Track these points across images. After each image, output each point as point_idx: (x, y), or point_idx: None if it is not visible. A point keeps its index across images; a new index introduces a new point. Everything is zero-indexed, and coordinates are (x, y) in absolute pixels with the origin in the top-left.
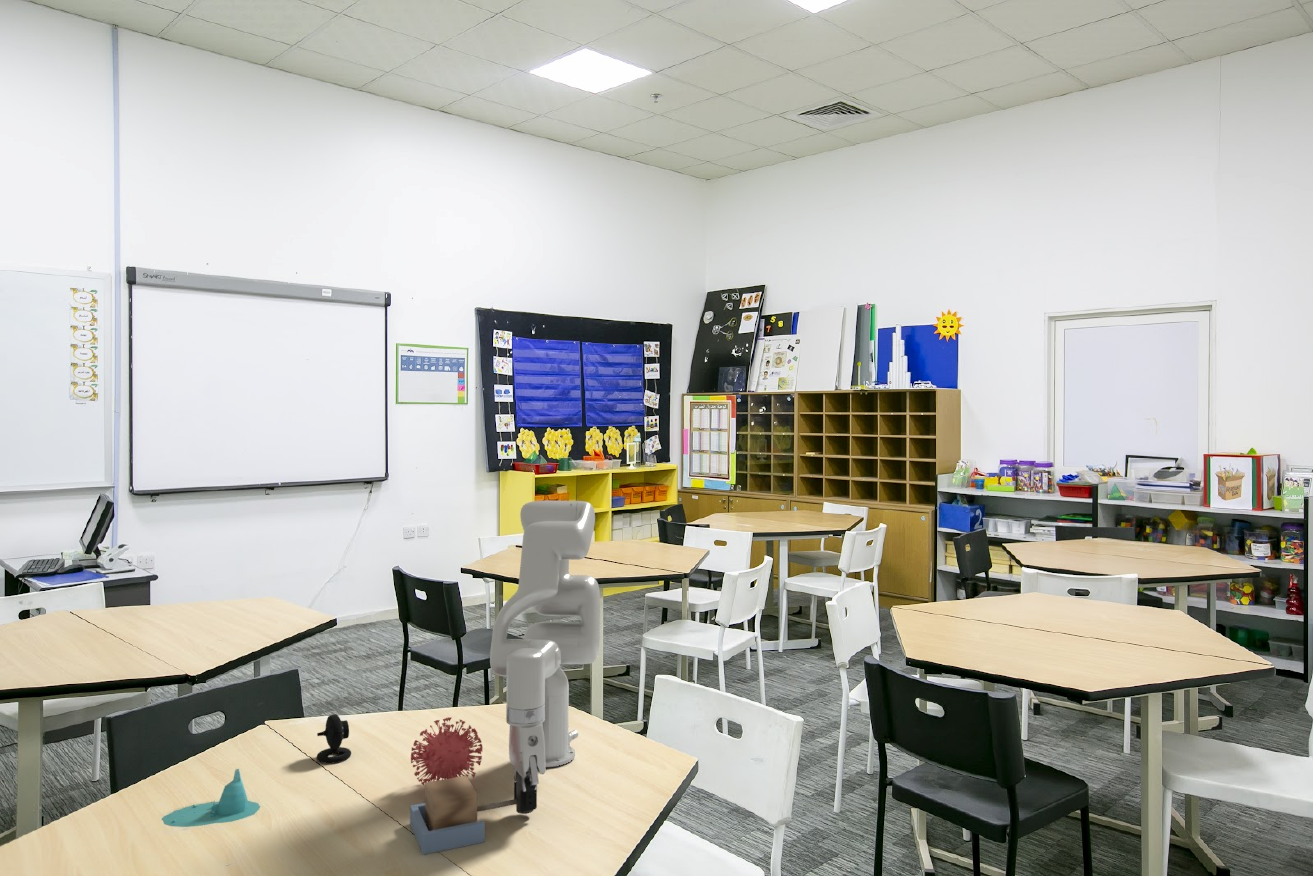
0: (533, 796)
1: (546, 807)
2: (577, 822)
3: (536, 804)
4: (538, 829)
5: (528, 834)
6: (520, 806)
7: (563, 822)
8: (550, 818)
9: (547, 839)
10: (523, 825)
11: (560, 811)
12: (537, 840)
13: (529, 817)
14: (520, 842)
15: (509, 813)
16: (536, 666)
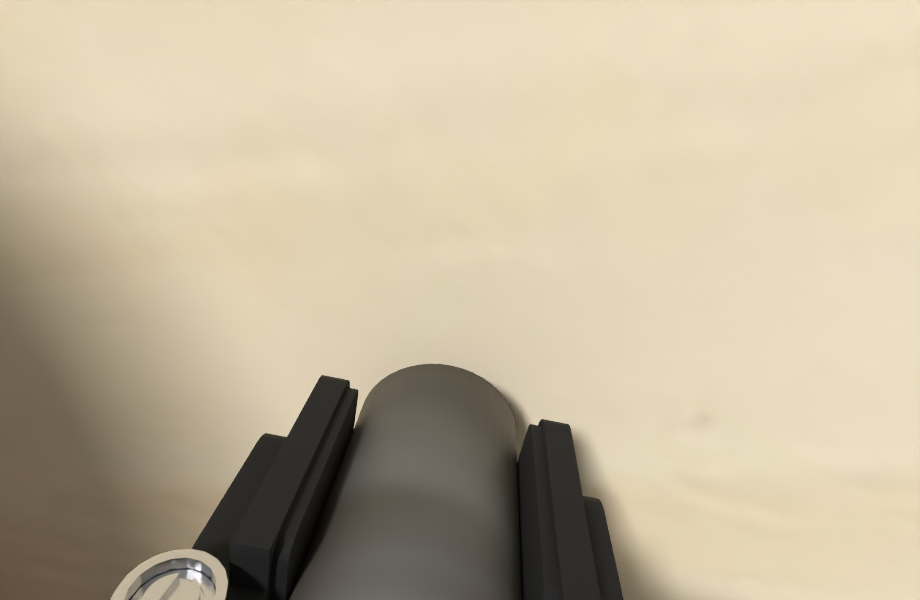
0: (618, 591)
1: (381, 163)
2: (907, 73)
3: (573, 450)
4: (711, 421)
5: (719, 503)
6: None
7: (780, 197)
8: (615, 252)
9: (905, 450)
10: None
11: (551, 89)
12: (850, 503)
13: None
14: (772, 581)
15: None
16: None
